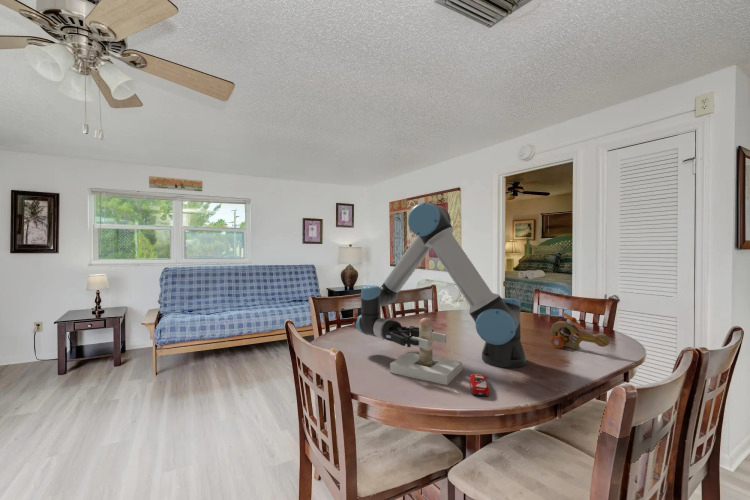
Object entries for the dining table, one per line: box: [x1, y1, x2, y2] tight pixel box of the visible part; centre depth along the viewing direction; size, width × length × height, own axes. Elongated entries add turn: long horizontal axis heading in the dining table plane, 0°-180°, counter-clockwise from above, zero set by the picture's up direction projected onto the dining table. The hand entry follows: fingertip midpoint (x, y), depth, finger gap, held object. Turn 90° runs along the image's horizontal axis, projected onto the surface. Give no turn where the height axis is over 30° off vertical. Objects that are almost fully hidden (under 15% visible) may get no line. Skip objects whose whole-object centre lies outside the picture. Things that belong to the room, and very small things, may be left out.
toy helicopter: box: [550, 312, 611, 351], centre depth 134 cm, size 8×21×14 cm, turn 38°
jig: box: [389, 351, 463, 386], centre depth 114 cm, size 20×14×3 cm
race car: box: [468, 373, 490, 397], centre depth 101 cm, size 13×5×4 cm, turn 166°
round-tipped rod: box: [418, 317, 434, 367], centre depth 114 cm, size 4×4×18 cm
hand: (436, 341), depth 111 cm, fingers open, 9 cm apart
